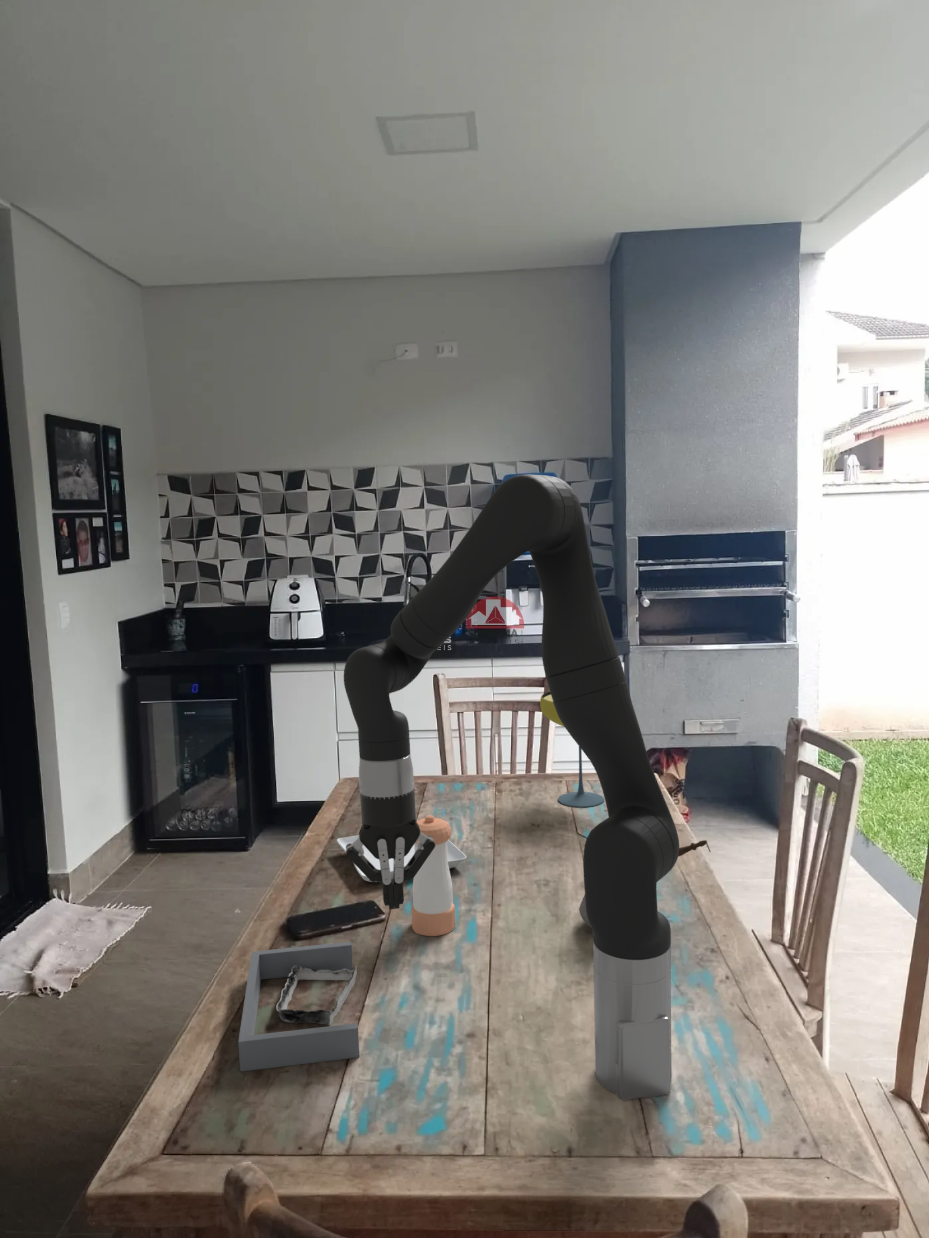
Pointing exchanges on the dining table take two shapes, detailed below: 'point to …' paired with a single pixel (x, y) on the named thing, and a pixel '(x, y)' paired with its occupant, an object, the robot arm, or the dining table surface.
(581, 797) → the cocktail glass
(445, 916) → the pepper shaker
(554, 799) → the dining table surface
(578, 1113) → the dining table surface
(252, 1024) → the bin
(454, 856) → the salad plate
